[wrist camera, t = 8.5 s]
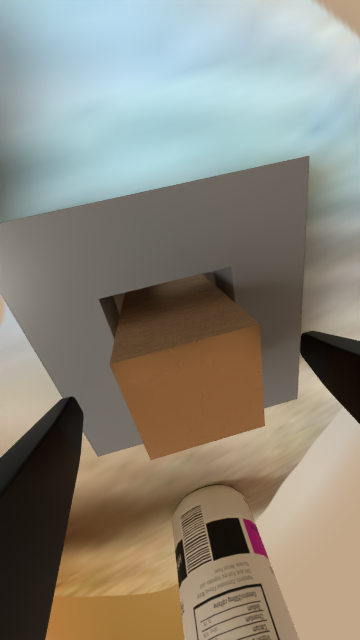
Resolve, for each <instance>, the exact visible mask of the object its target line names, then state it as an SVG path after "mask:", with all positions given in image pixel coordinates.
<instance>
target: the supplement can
mask: <svg viewBox="0 0 360 640" xmlns="http://www.w3.org/2000/svg"><path fill="white" fill-rule="evenodd" d="M172 525H173V534H174V543H175V553H176V562H177V572H178V581H179V589H180V590H179V591H180V600H181V609H182V619H183V628H184V638H185V640H299V638H298V636H297V632H296V630H295V627H294V624H293V622H292V619H291V617H290V614H289V611H288V609H287V606H286V603H285V601H284V598H283V596H282V593H281V590H280V588H279V585H278V582H277V580H276V578H275V575H274V572H273V569H272V567H271V564H270V562H269V559H268V556H267V553H266V551H265V548H264V545H263V543H262V540H261V537H260V535H259V532H258V530H257V527H256V524H255V522H254V519H253V516H252V514H251V511H250V509H249V506H248V503H247V501H246V498H245V497H244V496H243V495H242V494H241V493H240V492H237V491H236V490H235V489H234V488H231V487H229V486H226V485H213V486H208V487H204V488H201V489H199V490H196V491H194V492H192V493H191V494H189V495H188V496H186V497H185V498H184V499H183V500H182V501H181V502H180V503H179V505H178V508H177V510H176V511H175V512H174V515H173V519H172Z"/></svg>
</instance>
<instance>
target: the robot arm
mask: <svg viewBox="0 0 360 640" xmlns="http://www.w3.org/2000/svg"><path fill="white" fill-rule="evenodd" d="M300 353H301V355H302V357H303V358H304V360H305V361H306V362H307V363H308V365H309V366H310V367H311V369H312V370H313V371H314V373H315V374H316V375H317V377H318V378H319V379H320V381H321V382H322V383H323V384H324V386H325V387H326V388H327V389H328V390H329V391H330V393H331V394H332V395H333V396H334V397H335V398H336V399H337V400H338V401H339V402H340V403H341V404H342V405H343V407H344V408H345V409H346V410H347V411H348V412H349V413H350V414H351V415H352V416H353V417H354V418H355V419H356V420H357V422H358V423H359V424H360V341H357V340H353V339H348V338H344V337H339V336H335V335H330V334H325V333H321V332H316V331H309V332H305V333H303V334H302V335H301V342H300ZM83 421H84V414H83V411H82V409H81V407H80V405H79V404H78V402H77V400H76V398H75V397H73V396H70V397H66V398H63V399H61V400H60V401H59V402H58V403H57V404H55V405H54V406H53V407H52V408H51V409H50V410H49V411H48V412H47V413H46V414H45V415H44V416H43V417H42V418H41V419H40V420H39V421H38V422H37V423H36V424H35V425H34V426H33V427H32V428H31V429H30V430H29V431H28V432H27V433H26V434H24V435H23V436H22V437H21V438H20V439H19V440H18V441H17V442H16V443H15V444H14V445H13V446H12V447H11V448H10V449H9V450H8V451H7V452H6V453H5V454H4V455H3V456H2V457H1V458H0V640H45V638H46V633H47V628H48V623H49V618H50V612H51V606H52V602H53V597H54V592H55V587H56V581H57V576H58V571H59V566H60V561H61V555H62V550H63V545H64V540H65V535H66V530H67V524H68V519H69V514H70V509H71V504H72V499H73V493H74V488H75V483H76V478H77V473H78V468H79V462H80V454H81V444H82V432H83Z"/></svg>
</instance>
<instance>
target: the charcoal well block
mask: <svg viewBox="0 0 360 640" xmlns="http://www.w3.org/2000/svg"><path fill="white" fill-rule="evenodd" d="M308 172H309V156H306V157H301V158H297V159H292V160H288V161H283V162H278V163H274V164H269V165H265V166H260V167H255V168H251V169H246V170H242V171H237V172H232V173H228V174H223V175H219V176H214V177H210V178H205V179H200V180H196V181H191V182H187V183H182V184H177V185H173V186H168V187H164V188H159V189H154V190H150V191H145V192H141V193H136V194H131V195H127V196H122V197H118V198H113V199H108V200H104V201H99V202H95V203H90V204H85V205H81V206H76V207H72V208H67V209H62V210H58V211H53V212H49V213H44V214H39V215H35V216H30V217H26V218H21V219H16V220H12V221H7V222H3V223H0V294H1V295H2V297H3V299H4V300H5V302H6V304H7V305H8V307H9V309H10V311H11V312H12V314H13V316H14V317H15V319H16V321H17V322H18V324H19V326H20V327H21V329H22V331H23V332H24V334H25V336H26V337H27V339H28V341H29V342H30V344H31V346H32V347H33V349H34V351H35V352H36V354H37V356H38V357H39V359H40V361H41V362H42V364H43V366H44V367H45V369H46V371H47V372H48V374H49V376H50V377H51V379H52V381H53V382H54V384H55V386H56V387H57V389H58V391H59V392H60V394H61V396H62V398H66V397H70V396H73V397H75V398H76V400H77V402H78V404H79V405H80V407H81V409H82V411H83V414H84V421H83V433H84V434H85V436H86V438H87V439H88V441H89V443H90V444H91V446H92V448H93V449H94V451H95V453H96V454H97V456H98V457H99V456H102V455H105V454H109V453H112V452H116V451H119V450H123V449H126V448H130V447H133V446H136V445H140V444H143V441H142V438H141V436H140V434H139V432H138V429H137V427H136V425H135V422H134V420H133V418H132V416H131V413H130V411H129V409H128V406H127V404H126V402H125V399H124V397H123V395H122V393H121V390H120V388H119V386H118V383H117V381H116V379H115V376H114V374H113V372H112V370H111V367H110V365H109V364H110V359H111V355H112V350H113V345H114V341H115V336H116V331H117V327H118V322H119V317H120V313H121V308H122V303H123V299H124V294H125V292H129V291H133V290H137V289H141V288H145V287H149V286H153V285H158V284H162V283H166V282H170V281H174V280H178V279H182V278H186V277H190V276H194V275H198V274H202V275H204V276H205V277H206V278H207V279H208V280H209V281H211V282H212V283H213V284H214V285H215V286H216V287H217V288H219V289H220V290H221V291H222V292H223V293H224V294H226V295H227V296H228V297H229V298H230V299H231V300H232V301H234V302H235V303H236V304H237V305H238V306H239V307H241V308H242V309H243V310H244V311H245V312H246V313H247V314H249V315H250V316H251V317H252V318H253V319H254V320H256V321H257V322H258V323H259V324H260V340H261V360H262V380H263V400H264V408H267V407H270V406H274V405H277V404H281V403H284V402H288V401H291V400H294V399H297V395H298V375H299V355H300V334H301V314H302V294H303V274H304V253H305V233H306V213H307V193H308Z"/></svg>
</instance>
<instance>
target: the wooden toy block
mask: <svg viewBox="0 0 360 640" xmlns="http://www.w3.org/2000/svg"><path fill="white" fill-rule="evenodd" d="M109 365H110V367H111V370H112V372H113V374H114V376H115V379H116V381H117V383H118V386H119V388H120V390H121V393H122V395H123V397H124V399H125V402H126V404H127V406H128V409H129V411H130V413H131V416H132V418H133V420H134V422H135V425H136V427H137V429H138V432H139V434H140V436H141V438H142V441H143V443H144V445H145V448H146V450H147V452H148V455H149V457H150V459H151V460H152V459H156V458H159V457H162V456H166V455H169V454H172V453H176V452H179V451H182V450H186V449H189V448H192V447H196V446H199V445H202V444H206V443H209V442H212V441H216V440H219V439H222V438H226V437H229V436H232V435H236V434H239V433H242V432H246V431H249V430H252V429H256V428H259V427H262V426H265V420H264V400H263V380H262V360H261V340H260V324H259V323H258V322H257V321H256V320H254V319H253V318H252V317H251V316H250V315H249V314H247V313H246V312H245V311H244V310H243V309H242V308H241V307H239V306H238V305H237V304H236V303H235V302H234V301H232V300H231V299H230V298H229V297H228V296H227V295H226V294H224V293H223V292H222V291H221V290H220V289H219V288H217V287H216V286H215V285H214V284H213V283H212V282H211V281H209V280H208V279H207V278H206V277H205V276H204V275H202V274H198V275H194V276H190V277H186V278H182V279H178V280H174V281H170V282H166V283H162V284H158V285H153V286H149V287H145V288H141V289H137V290H133V291H129V292H125V294H124V299H123V303H122V308H121V313H120V317H119V322H118V327H117V331H116V336H115V341H114V345H113V350H112V355H111V359H110V364H109Z"/></svg>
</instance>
